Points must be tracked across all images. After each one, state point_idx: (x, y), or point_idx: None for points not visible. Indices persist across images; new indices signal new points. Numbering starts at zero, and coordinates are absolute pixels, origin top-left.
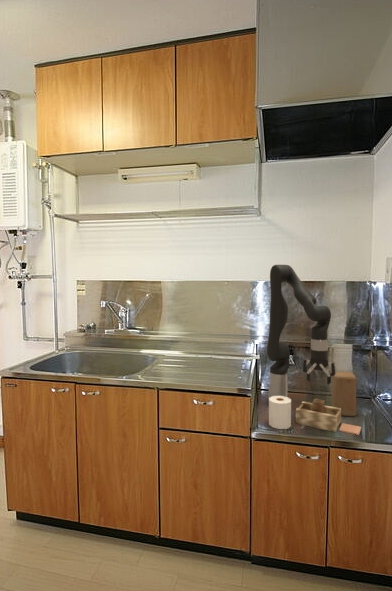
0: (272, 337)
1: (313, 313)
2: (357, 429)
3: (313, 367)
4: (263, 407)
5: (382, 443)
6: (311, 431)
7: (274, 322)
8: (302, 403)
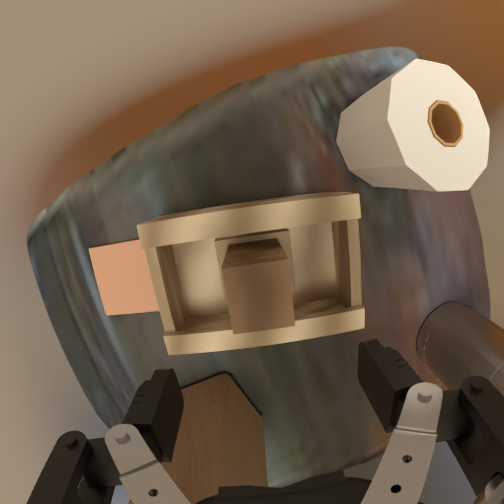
0: None
1: None
2: (105, 284)
3: (383, 487)
4: (475, 262)
5: (31, 235)
6: (246, 153)
7: None
8: (358, 307)
